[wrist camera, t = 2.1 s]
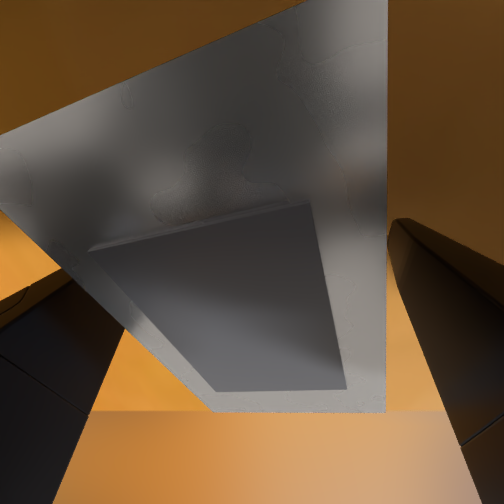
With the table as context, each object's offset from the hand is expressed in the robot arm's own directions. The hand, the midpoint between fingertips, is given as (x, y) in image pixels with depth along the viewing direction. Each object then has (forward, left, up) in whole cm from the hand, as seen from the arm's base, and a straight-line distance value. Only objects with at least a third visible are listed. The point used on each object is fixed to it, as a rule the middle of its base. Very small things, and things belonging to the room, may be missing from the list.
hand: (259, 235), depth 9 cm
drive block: (0, 0, -1) cm, 1 cm away
